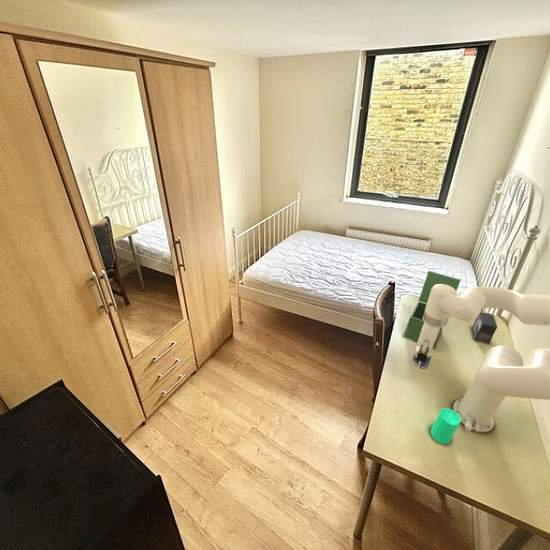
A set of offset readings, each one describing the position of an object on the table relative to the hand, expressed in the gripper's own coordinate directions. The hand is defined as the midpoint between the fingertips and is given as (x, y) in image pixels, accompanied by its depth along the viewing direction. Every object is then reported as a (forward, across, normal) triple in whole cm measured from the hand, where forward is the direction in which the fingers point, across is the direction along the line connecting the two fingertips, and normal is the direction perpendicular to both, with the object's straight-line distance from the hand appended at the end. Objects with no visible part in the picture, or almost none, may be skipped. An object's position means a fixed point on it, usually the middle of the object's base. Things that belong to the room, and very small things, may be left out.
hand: (422, 355), depth 111 cm
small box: (+15, -49, +19) cm, 55 cm away
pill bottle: (+5, 0, 0) cm, 5 cm away
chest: (+14, -33, -4) cm, 36 cm away
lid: (-7, -41, -3) cm, 42 cm away
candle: (+15, +18, +13) cm, 27 cm away
